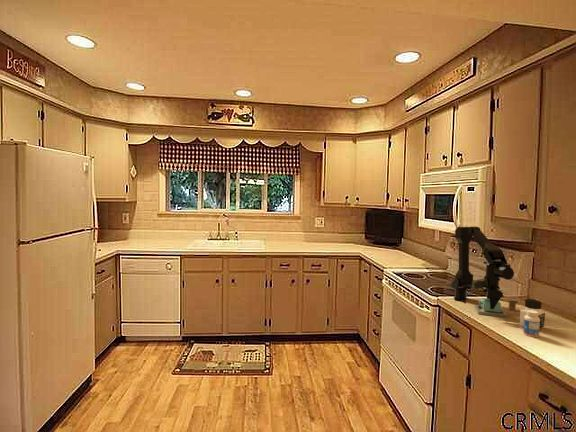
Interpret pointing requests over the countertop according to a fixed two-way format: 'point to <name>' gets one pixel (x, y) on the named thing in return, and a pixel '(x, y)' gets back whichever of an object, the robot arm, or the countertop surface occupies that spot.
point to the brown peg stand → (512, 307)
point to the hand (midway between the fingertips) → (490, 306)
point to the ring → (486, 305)
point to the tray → (490, 312)
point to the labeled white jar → (535, 306)
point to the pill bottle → (531, 324)
